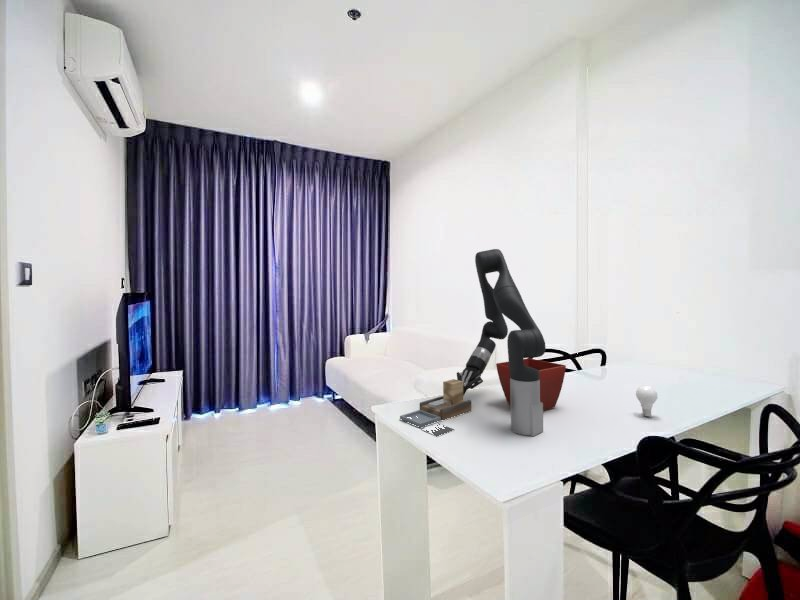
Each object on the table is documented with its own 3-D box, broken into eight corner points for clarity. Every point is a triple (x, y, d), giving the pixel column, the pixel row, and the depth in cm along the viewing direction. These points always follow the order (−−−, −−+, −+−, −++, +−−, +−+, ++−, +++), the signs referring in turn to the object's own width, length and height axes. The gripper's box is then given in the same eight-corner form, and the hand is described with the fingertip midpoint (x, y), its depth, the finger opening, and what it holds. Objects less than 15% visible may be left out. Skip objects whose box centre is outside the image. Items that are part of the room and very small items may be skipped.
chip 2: (451, 404, 139) (451, 401, 139) (443, 407, 136) (443, 403, 136) (443, 402, 142) (443, 398, 142) (436, 404, 140) (436, 400, 140)
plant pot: (495, 404, 148) (494, 362, 148) (529, 396, 157) (528, 357, 156) (532, 418, 131) (531, 371, 131) (567, 409, 140) (567, 365, 139)
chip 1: (443, 407, 136) (443, 403, 136) (436, 409, 134) (436, 405, 134) (436, 404, 140) (436, 400, 140) (428, 407, 137) (428, 403, 137)
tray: (440, 421, 131) (440, 416, 130) (420, 428, 124) (420, 423, 124) (420, 413, 139) (420, 409, 139) (400, 419, 133) (399, 415, 133)
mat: (454, 430, 122) (454, 429, 122) (437, 436, 117) (437, 435, 117) (437, 423, 128) (437, 422, 128) (420, 429, 123) (420, 428, 123)
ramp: (471, 410, 140) (471, 400, 140) (442, 421, 130) (442, 410, 130) (448, 403, 150) (448, 394, 150) (419, 413, 140) (419, 402, 139)
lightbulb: (648, 420, 126) (647, 389, 125) (631, 414, 132) (631, 384, 131) (662, 418, 127) (661, 387, 127) (645, 412, 133) (645, 383, 133)
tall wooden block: (463, 401, 143) (463, 381, 142) (453, 404, 139) (452, 384, 139) (453, 398, 147) (453, 379, 146) (443, 402, 143) (443, 381, 143)
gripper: (462, 353, 156) (442, 386, 148) (487, 356, 145) (467, 393, 138) (470, 363, 159) (452, 397, 152) (495, 368, 149) (477, 404, 142)
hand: (459, 395), depth 145 cm, fingers closed
